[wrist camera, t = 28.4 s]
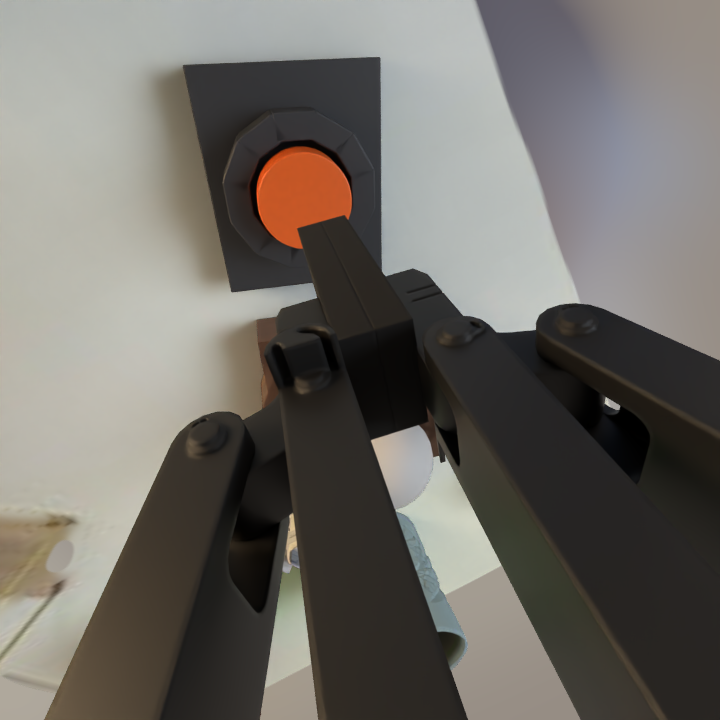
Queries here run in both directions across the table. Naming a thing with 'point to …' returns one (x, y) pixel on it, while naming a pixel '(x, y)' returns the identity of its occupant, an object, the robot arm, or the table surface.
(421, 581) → the grey embossed cup
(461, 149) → the table surface
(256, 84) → the black button base
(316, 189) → the test button
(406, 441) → the lightbulb
